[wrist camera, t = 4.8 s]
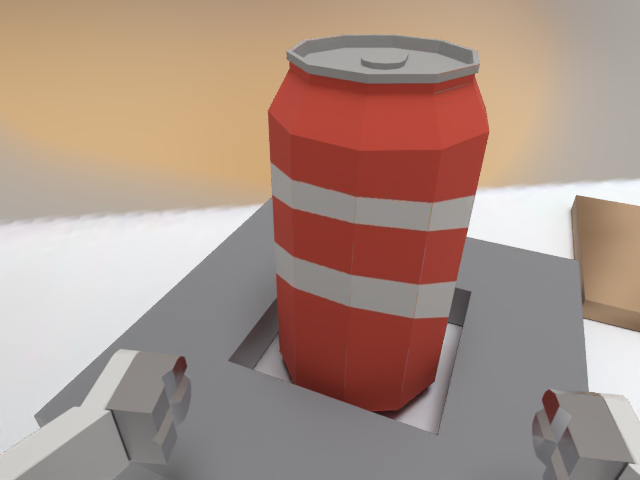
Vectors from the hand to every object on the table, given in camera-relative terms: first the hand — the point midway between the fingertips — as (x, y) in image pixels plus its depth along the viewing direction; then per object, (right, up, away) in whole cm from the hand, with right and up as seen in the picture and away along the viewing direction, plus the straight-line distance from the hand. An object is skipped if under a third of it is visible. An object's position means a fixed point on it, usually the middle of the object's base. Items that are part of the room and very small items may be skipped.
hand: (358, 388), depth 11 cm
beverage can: (+1, -2, +9) cm, 9 cm away
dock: (+1, -1, +9) cm, 9 cm away
